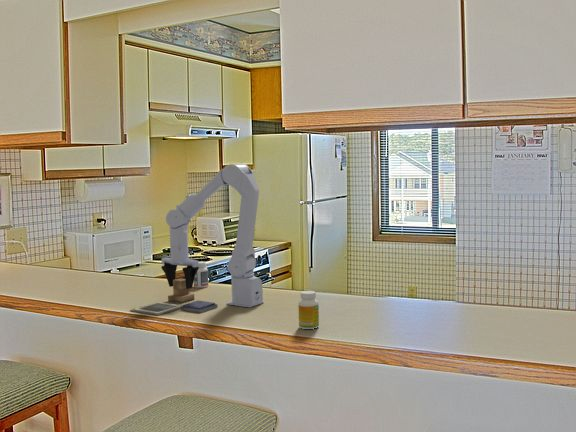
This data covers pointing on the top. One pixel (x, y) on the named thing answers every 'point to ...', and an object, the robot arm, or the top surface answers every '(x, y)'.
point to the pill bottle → (201, 276)
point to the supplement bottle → (308, 310)
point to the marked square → (157, 308)
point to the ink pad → (199, 306)
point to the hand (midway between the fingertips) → (180, 287)
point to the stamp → (180, 292)
